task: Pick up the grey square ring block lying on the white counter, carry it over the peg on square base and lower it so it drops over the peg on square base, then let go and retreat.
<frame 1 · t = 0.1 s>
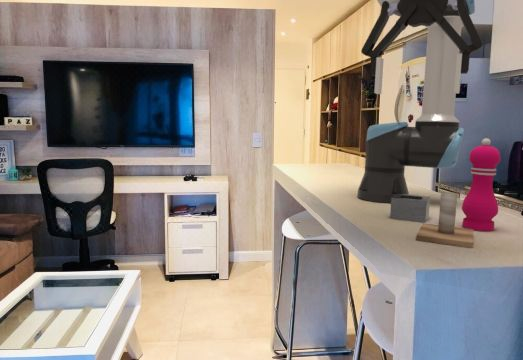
hand: (415, 93, 77), 28 cm above the countertop, fingers open, 13 cm apart
peg on square base: (445, 236, 86), on the countertop
pepper mill: (477, 228, 95), on the countertop
grey square ring block: (409, 217, 104), on the countertop
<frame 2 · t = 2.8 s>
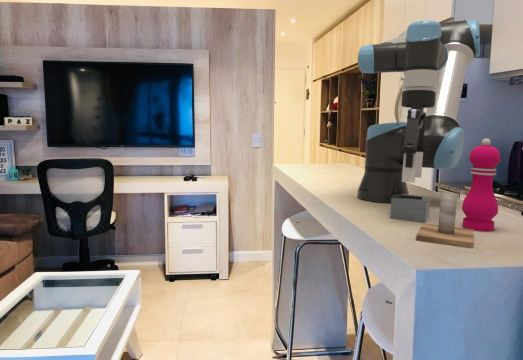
hand: (411, 179, 102), 9 cm above the countertop, fingers open, 13 cm apart
nothing on the countertop moved.
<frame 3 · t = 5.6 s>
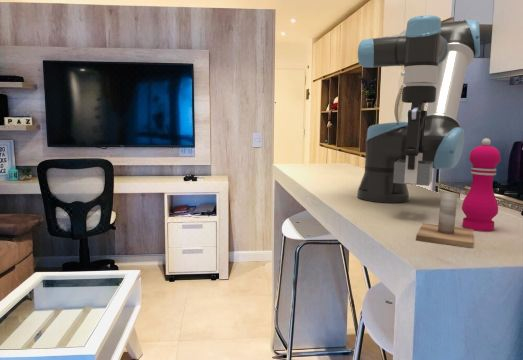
hand: (412, 180, 103), 9 cm above the countertop, fingers closed on grey square ring block, 8 cm apart
grey square ring block: (412, 182, 103), point 9 cm above the countertop, touching gripper
everything else where it was.
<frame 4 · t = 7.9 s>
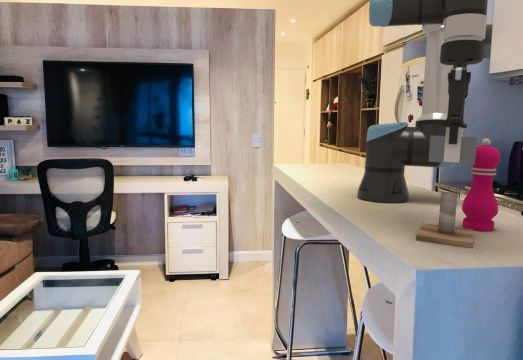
hand: (452, 160, 83), 16 cm above the countertop, fingers closed on grey square ring block, 8 cm apart
grey square ring block: (451, 161, 83), point 15 cm above the countertop, touching gripper
everything else where it was.
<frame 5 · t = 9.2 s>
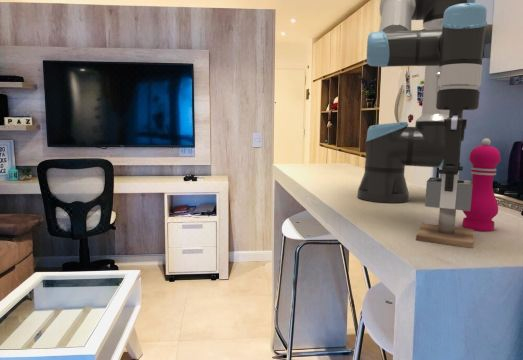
hand: (448, 204, 85), 7 cm above the countertop, fingers closed on grey square ring block, 8 cm apart
grey square ring block: (448, 205, 85), point 6 cm above the countertop, touching gripper
everything else where it was.
when the fingers open (3 cm above the countertop, at t = 10.3 s): grey square ring block drops 2 cm, resting on peg on square base.
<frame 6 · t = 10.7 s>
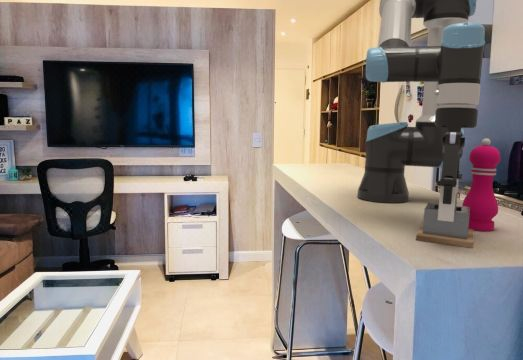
hand: (447, 214, 85), 5 cm above the countertop, fingers open, 13 cm apart
grey square ring block: (445, 232, 86), point 1 cm above the countertop, touching peg on square base
everything else where it was.
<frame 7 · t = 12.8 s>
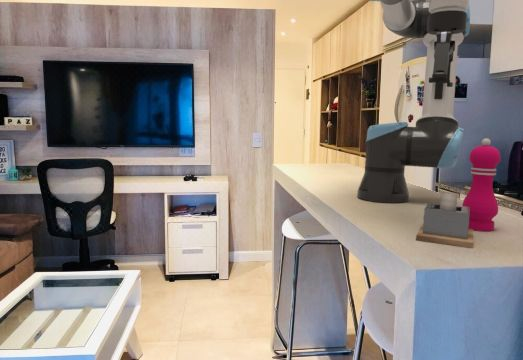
hand: (438, 116, 91), 24 cm above the countertop, fingers open, 13 cm apart
nothing on the countertop moved.
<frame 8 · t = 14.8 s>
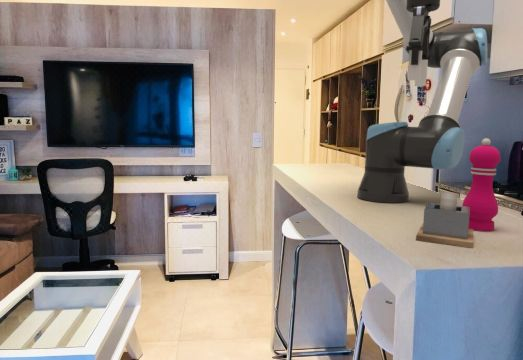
hand: (417, 83, 104), 33 cm above the countertop, fingers open, 13 cm apart
nothing on the countertop moved.
at the end: grey square ring block 0.1 cm off-centre on the peg on square base, point 1.0 cm above the peg on square base's base; the gripper is holding nothing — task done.
